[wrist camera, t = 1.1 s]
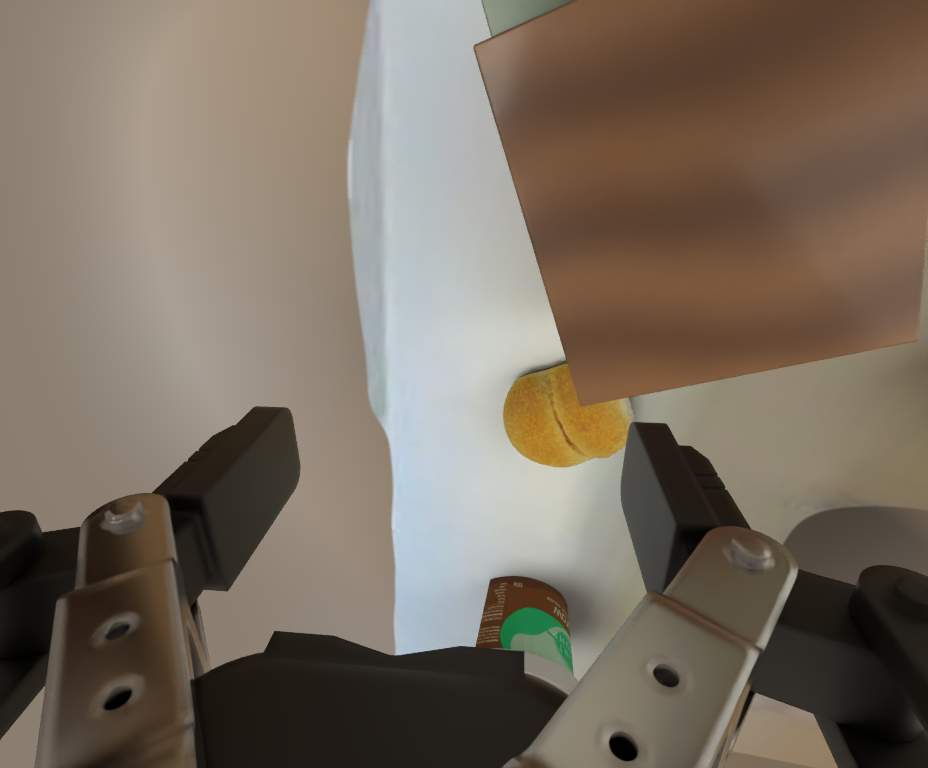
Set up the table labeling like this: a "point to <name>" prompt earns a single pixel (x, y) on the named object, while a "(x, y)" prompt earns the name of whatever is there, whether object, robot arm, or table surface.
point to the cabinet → (718, 181)
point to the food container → (530, 628)
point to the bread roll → (562, 420)
